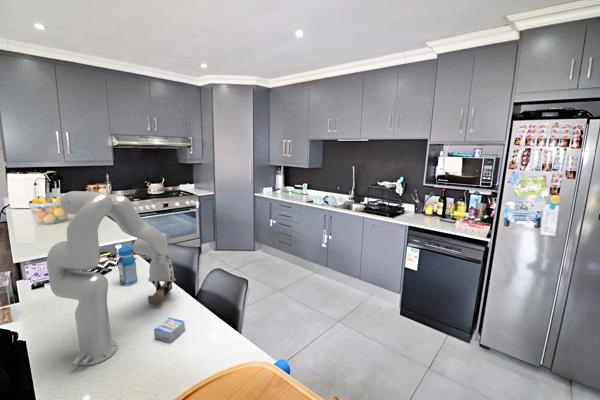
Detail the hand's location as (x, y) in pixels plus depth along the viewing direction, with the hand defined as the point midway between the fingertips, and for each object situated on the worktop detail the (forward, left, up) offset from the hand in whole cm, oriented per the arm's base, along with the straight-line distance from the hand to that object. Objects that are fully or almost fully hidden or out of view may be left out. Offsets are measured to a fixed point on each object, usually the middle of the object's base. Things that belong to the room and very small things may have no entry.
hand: (163, 292), depth 143 cm
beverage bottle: (+16, +27, -4) cm, 32 cm away
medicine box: (-22, -17, -1) cm, 28 cm away
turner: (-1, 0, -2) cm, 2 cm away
